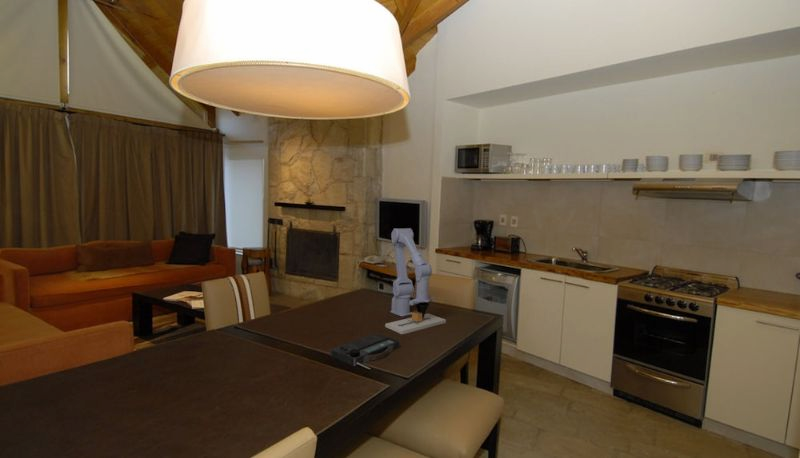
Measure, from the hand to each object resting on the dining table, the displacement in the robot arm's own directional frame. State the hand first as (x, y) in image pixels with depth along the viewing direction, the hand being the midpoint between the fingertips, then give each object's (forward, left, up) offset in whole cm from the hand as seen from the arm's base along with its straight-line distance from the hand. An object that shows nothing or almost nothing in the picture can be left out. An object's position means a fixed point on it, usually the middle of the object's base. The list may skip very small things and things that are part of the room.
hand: (421, 317), depth 193 cm
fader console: (0, -3, -3) cm, 4 cm away
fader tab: (0, -3, -1) cm, 3 cm away
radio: (+16, -41, -4) cm, 44 cm away
